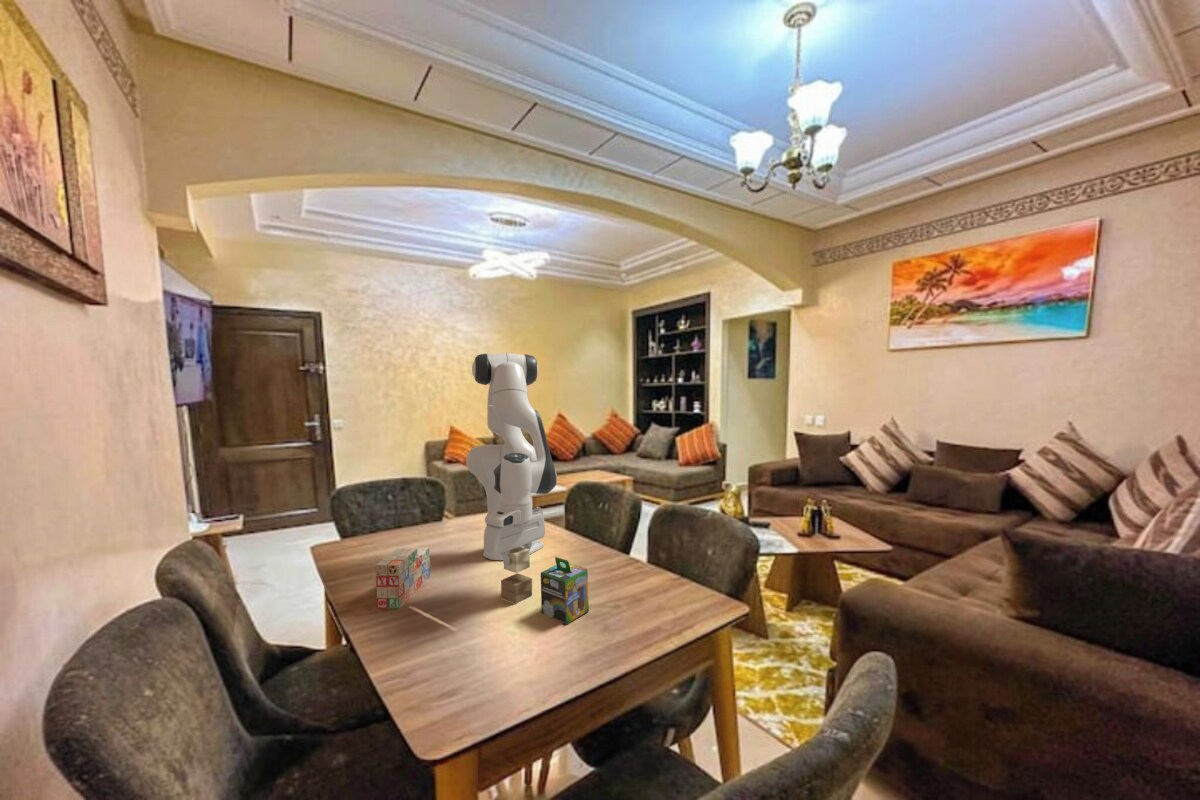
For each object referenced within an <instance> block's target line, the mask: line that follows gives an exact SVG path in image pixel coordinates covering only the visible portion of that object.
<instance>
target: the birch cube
mask: <svg viewBox="0 0 1200 800" xmlns="http://www.w3.org/2000/svg"><path fill="white" fill-rule="evenodd" d="M530 555H531V554H530V550H529V549H526V548H522V547H517V548H514V549H512V550H509V554H508V557H509V558H511V559H512V565H510V566H508V567H507V566H504V565H503V569H504V570H506V571H509V572H513V573H514V574H516V573H518V574H519V573H520V572H522V571H524V570H527V569H529V568H530V567H531V566H530V563H531V562H530V561H531V559H530V557H531V556H530Z"/></svg>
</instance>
